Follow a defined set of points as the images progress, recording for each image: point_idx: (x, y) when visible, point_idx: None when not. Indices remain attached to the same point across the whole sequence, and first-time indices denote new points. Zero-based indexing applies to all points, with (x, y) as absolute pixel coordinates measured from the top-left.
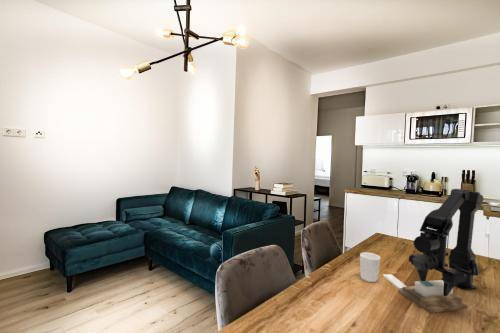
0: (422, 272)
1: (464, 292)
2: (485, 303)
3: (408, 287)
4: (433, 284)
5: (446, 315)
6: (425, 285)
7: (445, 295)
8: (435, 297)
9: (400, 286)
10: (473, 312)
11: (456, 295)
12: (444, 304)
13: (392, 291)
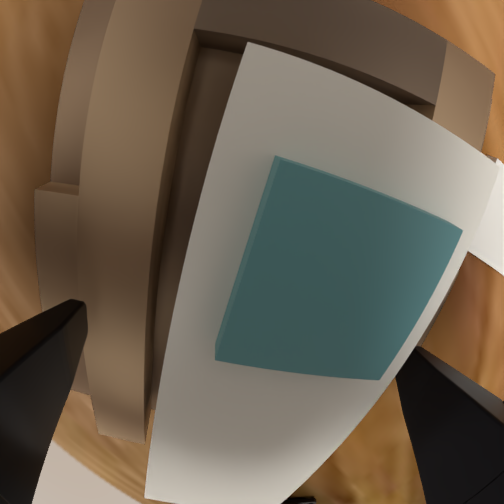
0: (483, 458)
1: None
2: (118, 471)
3: (468, 122)
4: (256, 391)
5: (24, 115)
6: (303, 167)
7: (63, 311)
8: (133, 192)
9: (501, 199)
10: None
11: (124, 429)
12: (51, 197)
13: (492, 66)
